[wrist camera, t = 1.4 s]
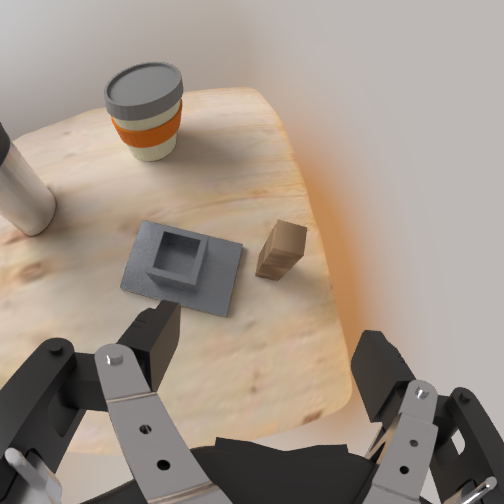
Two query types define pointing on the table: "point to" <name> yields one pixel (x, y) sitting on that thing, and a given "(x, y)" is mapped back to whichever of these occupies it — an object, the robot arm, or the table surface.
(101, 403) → the robot arm
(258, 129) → the table surface
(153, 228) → the grey square tube bracket
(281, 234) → the brown square block
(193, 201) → the table surface
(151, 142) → the reusable coffee cup
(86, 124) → the table surface
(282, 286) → the table surface
